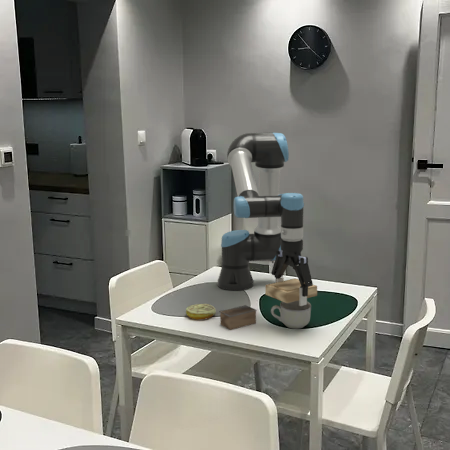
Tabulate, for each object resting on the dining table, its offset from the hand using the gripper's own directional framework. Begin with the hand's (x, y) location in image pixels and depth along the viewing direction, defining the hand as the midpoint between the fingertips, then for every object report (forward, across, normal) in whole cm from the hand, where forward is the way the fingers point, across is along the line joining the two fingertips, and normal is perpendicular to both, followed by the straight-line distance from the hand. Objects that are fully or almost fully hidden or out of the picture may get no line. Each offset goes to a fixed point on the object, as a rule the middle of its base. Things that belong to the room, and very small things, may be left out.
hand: (291, 300), depth 211 cm
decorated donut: (+10, -27, -20) cm, 35 cm away
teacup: (+9, 0, 0) cm, 9 cm away
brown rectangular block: (+9, -12, -14) cm, 21 cm away
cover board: (-2, 0, 0) cm, 2 cm away
